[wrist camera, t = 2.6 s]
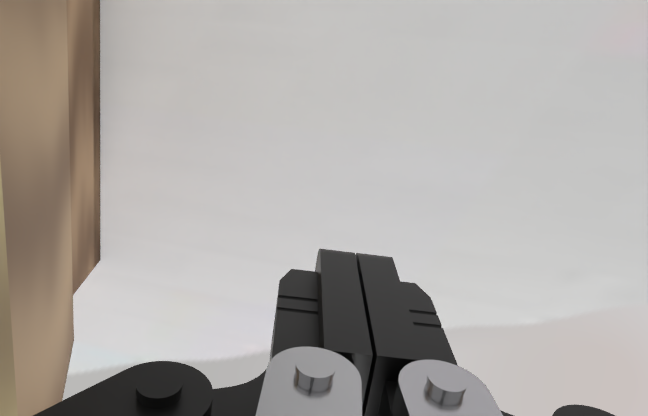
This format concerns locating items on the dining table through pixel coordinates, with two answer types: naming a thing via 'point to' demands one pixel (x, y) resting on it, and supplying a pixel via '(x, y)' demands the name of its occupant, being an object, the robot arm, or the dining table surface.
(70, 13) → the box
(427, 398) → the robot arm
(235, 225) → the dining table surface
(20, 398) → the lid
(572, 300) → the dining table surface
